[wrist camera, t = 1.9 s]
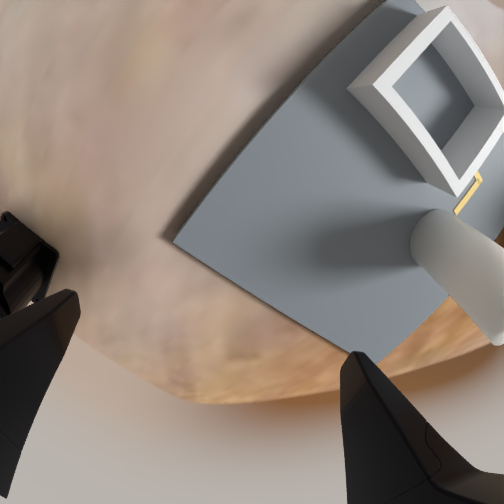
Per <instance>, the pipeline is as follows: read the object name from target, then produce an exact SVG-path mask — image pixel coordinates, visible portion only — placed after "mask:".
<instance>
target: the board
mask: <svg viewBox="0 0 504 504" xmlns="http://www.w3.org/2000/svg"><path fill="white" fill-rule="evenodd" d="M503 131H504V91H503V89H502V87H501V85H500V83H499V81H498V79H497V78H496V76H495V74H494V72H493V70H492V69H491V67H490V65H489V64H488V62H487V60H486V59H485V57H484V55H483V54H482V52H481V51H480V49H479V48H478V46H477V45H476V43H475V42H474V40H473V39H472V37H471V36H470V34H469V33H468V32H467V30H466V29H465V27H464V26H463V25H462V23H461V22H460V21H459V19H458V18H457V17H456V16H455V14H454V13H453V12H452V11H451V9H450V8H449V7H448V6H443V7H440V8H437V9H434V10H431V11H428V12H425V11H424V10H423V9H422V8H421V7H420V6H419V4H418V3H417V2H416V1H415V0H385V1H384V2H382V3H381V4H380V5H379V6H378V7H377V8H376V9H375V10H373V11H372V12H371V13H370V14H369V15H368V16H367V17H366V18H365V19H364V20H363V21H361V22H360V23H359V24H358V25H357V26H356V27H355V28H354V29H353V30H352V31H351V32H350V33H349V34H348V35H347V36H346V37H345V38H344V39H343V40H341V41H340V42H339V43H338V44H337V45H336V46H335V47H334V48H333V49H332V50H331V51H330V52H329V53H328V54H327V55H326V56H325V57H324V58H323V59H322V60H321V61H320V63H319V64H318V65H317V66H316V67H315V68H314V69H313V70H312V71H311V72H310V73H309V74H308V75H307V76H306V77H305V78H304V79H303V80H302V81H301V82H300V84H299V85H298V86H297V87H296V88H295V89H294V90H293V91H292V92H291V93H290V94H289V95H288V97H287V98H286V99H285V100H284V101H283V102H282V103H281V104H280V105H279V107H278V108H277V109H276V110H275V111H274V112H273V113H272V114H271V116H270V117H269V118H268V119H267V120H266V121H265V122H264V124H263V125H262V126H261V127H260V128H259V129H258V131H257V132H256V133H255V134H254V135H253V136H252V138H251V139H250V140H249V141H248V142H247V144H246V145H245V146H244V147H243V148H242V150H241V151H240V152H239V153H238V154H237V156H236V157H235V158H234V159H233V161H232V162H231V163H230V164H229V166H228V167H227V168H226V169H225V171H224V172H223V173H222V174H221V176H220V177H219V178H218V179H217V181H216V182H215V183H214V184H213V186H212V187H211V188H210V190H209V191H208V192H207V193H206V195H205V196H204V197H203V199H202V200H201V201H200V203H199V204H198V205H197V207H196V208H195V209H194V211H193V212H192V213H191V215H190V216H189V217H188V219H187V220H186V221H185V223H184V224H183V225H182V227H181V228H180V229H179V231H178V232H177V234H176V235H175V238H174V240H173V243H174V244H176V245H177V246H179V247H180V248H182V249H183V250H185V251H187V252H188V253H190V254H191V255H193V256H194V257H196V258H197V259H199V260H200V261H202V262H203V263H205V264H206V265H208V266H209V267H211V268H212V269H214V270H215V271H217V272H219V273H220V274H222V275H223V276H225V277H226V278H228V279H229V280H231V281H233V282H234V283H236V284H237V285H239V286H240V287H242V288H244V289H245V290H247V291H248V292H250V293H251V294H253V295H255V296H256V297H258V298H259V299H261V300H263V301H264V302H266V303H267V304H269V305H271V306H272V307H274V308H276V309H277V310H279V311H280V312H282V313H284V314H285V315H287V316H289V317H290V318H292V319H293V320H295V321H297V322H298V323H300V324H302V325H303V326H305V327H307V328H308V329H310V330H312V331H313V332H315V333H317V334H318V335H320V336H322V337H323V338H325V339H327V340H328V341H330V342H332V343H334V344H335V345H337V346H339V347H340V348H342V349H344V350H346V351H347V352H349V353H351V352H352V351H360V352H364V353H365V354H366V355H367V356H368V357H369V358H370V359H371V360H372V361H373V362H374V363H375V365H376V364H377V363H378V362H380V361H381V360H382V359H383V358H384V357H385V356H387V355H388V354H389V353H390V352H391V351H392V350H394V349H395V348H396V347H397V346H398V345H399V344H400V343H401V342H403V341H404V340H405V339H406V338H407V337H408V336H409V335H410V334H411V333H412V332H413V331H414V330H416V329H417V328H418V327H419V326H420V325H421V324H422V323H423V322H424V321H425V320H426V319H427V318H428V317H429V316H430V315H431V314H432V313H433V312H434V311H435V310H436V309H437V308H438V307H439V306H440V305H441V304H442V302H443V301H444V300H445V299H446V298H447V297H448V296H449V294H448V293H447V292H446V291H445V290H444V289H443V288H442V287H441V286H440V285H439V284H438V283H437V282H436V281H435V280H434V279H433V278H432V277H431V276H430V275H429V274H428V273H427V272H426V271H425V270H424V269H423V268H422V267H421V266H420V265H419V264H418V263H417V262H415V261H414V259H413V258H412V256H411V253H410V239H411V235H412V232H413V230H414V228H415V226H416V224H417V223H418V221H419V220H420V219H421V218H422V217H423V216H424V215H425V214H426V213H428V212H430V211H432V210H435V209H443V210H445V211H447V212H449V213H451V214H452V215H454V216H455V217H457V218H459V219H460V220H462V221H464V222H465V223H467V224H468V225H470V226H471V227H473V228H475V229H476V230H478V231H479V232H481V233H482V234H484V235H485V236H487V237H488V238H490V239H491V240H492V241H494V240H495V239H496V238H497V236H498V235H499V234H500V232H501V231H502V229H503V228H504V133H503Z"/></svg>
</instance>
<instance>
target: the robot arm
mask: <svg viewBox="0 0 504 504" xmlns="http://www.w3.org/2000/svg"><path fill="white" fill-rule="evenodd" d="M6 217H7V218H6ZM52 254H53V255H54V257H53V256H52ZM58 260H59V253H58V251H57V250H56V249H54V248H53V247H52V246H50V245H49V244H48V243H46V242H45V241H44V240H43V239H41V238H40V237H39V236H37V235H36V234H35V233H34V232H32V231H31V230H30V229H29V228H27V227H26V226H25V225H24V224H23V223H21V222H20V221H19V220H18V219H17V218H15V217H14V216H13V215H12V214H11V213H10V212H5V213H3V214H2V217H1V221H0V495H1V496H2V497H4V498H7V496H8V493H9V490H10V486H11V483H12V480H13V476H14V473H15V470H16V467H17V464H18V461H19V458H20V455H21V451H22V449H23V446H24V444H25V441H26V438H27V436H28V433H29V431H30V428H31V426H32V423H33V421H34V418H35V416H36V414H37V411H38V409H39V407H40V404H41V402H42V400H43V398H44V395H45V393H46V391H47V389H48V387H49V385H50V383H51V381H52V379H53V377H54V374H55V372H56V370H57V368H58V366H59V364H60V362H61V361H62V359H63V356H64V354H65V352H66V350H67V347H68V345H69V342H70V339H71V337H72V335H73V332H74V330H75V327H76V325H77V323H78V320H79V318H80V314H81V310H80V304H79V298H78V294H77V292H76V291H73V290H70V289H64V290H62V291H59V292H57V293H55V294H53V295H51V296H48V297H46V294H47V291H48V288H49V285H50V282H51V279H52V276H53V273H54V271H55V268H56V265H57V263H58ZM45 297H46V298H45ZM30 301H32V302H34V303H33V304H31V305H29V306H27V305H28V303H29V302H30ZM26 306H27V307H26ZM340 413H341V425H342V434H343V446H344V457H345V470H346V487H347V504H504V475H503V474H495V473H488V472H483V471H480V470H478V469H476V468H475V467H473V466H472V465H471V464H470V463H469V462H468V461H466V459H464V458H463V457H462V456H461V455H460V454H459V453H458V452H457V451H456V450H455V449H454V448H453V447H451V446H450V445H449V444H448V443H447V442H446V441H445V440H444V439H443V438H442V437H441V436H440V435H439V434H438V432H437V431H436V430H435V429H434V428H433V427H432V426H431V425H430V424H429V423H428V422H426V419H425V418H424V417H423V416H422V415H421V414H420V413H419V412H418V411H417V409H416V408H415V407H414V406H413V405H412V404H411V403H410V402H409V401H408V399H407V398H405V396H404V395H403V394H402V393H401V392H400V391H399V390H398V389H397V388H396V386H395V385H394V384H393V383H392V382H391V381H390V380H389V379H388V378H387V377H386V375H385V374H384V373H383V372H382V371H381V370H380V369H379V368H378V367H377V366H376V365H375V363H374V362H373V361H372V360H371V359H370V358H369V357H368V356H367V355H366V354H365V353H364V352H360V351H352V352H351V353H350V354H349V356H348V357H347V359H346V361H345V362H344V364H343V365H342V367H341V370H340Z"/></svg>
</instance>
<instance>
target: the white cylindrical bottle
mask: <svg viewBox="0 0 504 504" xmlns="http://www.w3.org/2000/svg"><path fill="white" fill-rule="evenodd" d="M410 253H411V256H412V258H413V259H414V261H415V262H417V263H418V264H419V265H420V266H421V267H422V268H423V269H424V270H425V271H426V272H427V273H428V274H429V275H430V276H431V277H432V278H433V279H434V280H435V281H436V282H437V283H438V284H439V285H440V286H441V287H442V288H443V289H444V290H445V291H446V292H447V293H448V294H449V295H450V297H451V298H452V299H453V300H454V301H455V302H456V303H457V304H458V305H459V306H460V307H461V308H462V309H463V310H464V312H465V313H466V314H467V315H468V316H469V317H470V318H471V319H472V320H473V322H474V323H475V324H476V325H477V326H478V327H479V328H480V330H481V331H482V332H483V333H484V334H485V335H486V337H487V338H488V339H489V340H490V341H491V343H492V344H493V345H501V344H503V343H504V248H502V247H501V246H500V245H498V244H497V243H495V242H494V241H492V240H491V239H490V238H488V237H487V236H485V235H484V234H482V233H481V232H479V231H478V230H476V229H475V228H473V227H471V226H470V225H468V224H467V223H465V222H464V221H462V220H460V219H459V218H457V217H455V216H454V215H452V214H451V213H449V212H447V211H445V210H443V209H435V210H432V211H430V212H428V213H426V214H425V215H424V216H423V217H422V218H421V219H420V220H419V221H418V223H417V224H416V226H415V228H414V230H413V232H412V235H411V239H410Z"/></svg>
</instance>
